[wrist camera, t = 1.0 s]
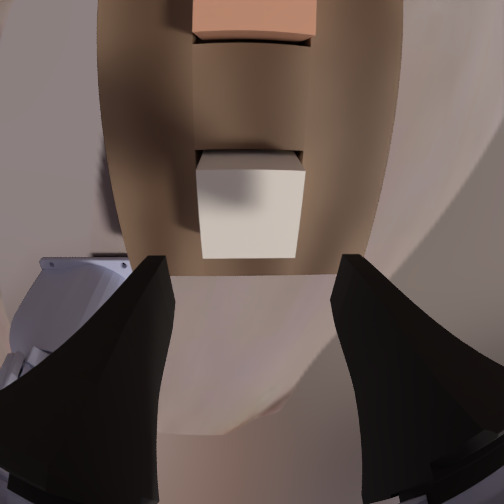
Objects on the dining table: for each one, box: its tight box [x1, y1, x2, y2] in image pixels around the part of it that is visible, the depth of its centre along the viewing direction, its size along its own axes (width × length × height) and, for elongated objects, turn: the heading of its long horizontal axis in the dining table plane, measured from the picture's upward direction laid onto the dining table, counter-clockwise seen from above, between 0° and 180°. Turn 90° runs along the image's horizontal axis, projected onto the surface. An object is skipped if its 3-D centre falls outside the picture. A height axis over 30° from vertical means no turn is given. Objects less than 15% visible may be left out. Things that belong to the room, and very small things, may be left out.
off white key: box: [196, 149, 306, 259], centre depth 14 cm, size 4×4×3 cm
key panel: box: [97, 0, 403, 276], centre depth 12 cm, size 14×20×3 cm
